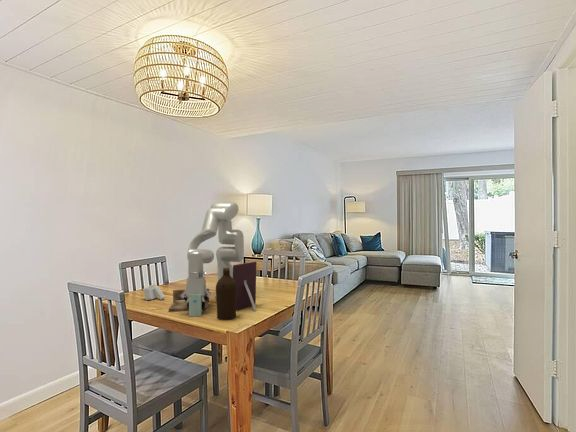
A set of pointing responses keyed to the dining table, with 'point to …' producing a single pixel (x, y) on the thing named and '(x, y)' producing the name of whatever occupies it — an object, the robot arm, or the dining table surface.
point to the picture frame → (245, 285)
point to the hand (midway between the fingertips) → (196, 308)
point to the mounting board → (183, 302)
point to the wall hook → (153, 292)
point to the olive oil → (226, 296)
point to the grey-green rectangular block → (195, 305)
